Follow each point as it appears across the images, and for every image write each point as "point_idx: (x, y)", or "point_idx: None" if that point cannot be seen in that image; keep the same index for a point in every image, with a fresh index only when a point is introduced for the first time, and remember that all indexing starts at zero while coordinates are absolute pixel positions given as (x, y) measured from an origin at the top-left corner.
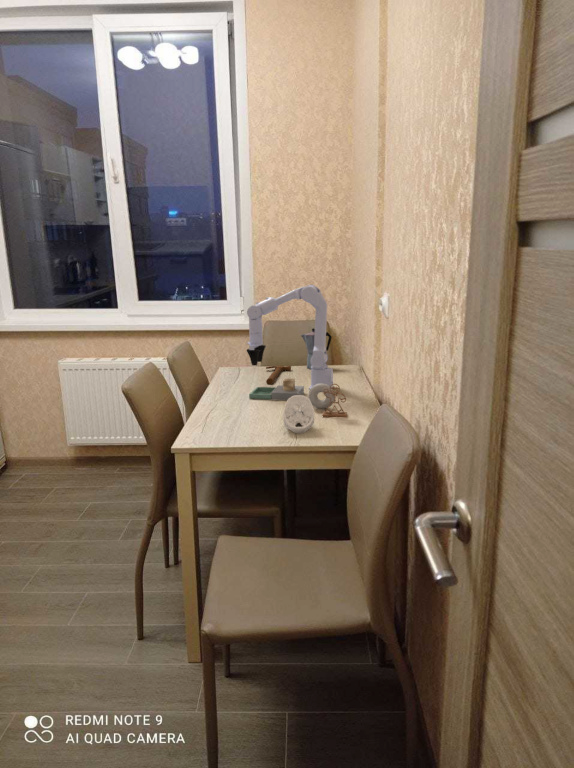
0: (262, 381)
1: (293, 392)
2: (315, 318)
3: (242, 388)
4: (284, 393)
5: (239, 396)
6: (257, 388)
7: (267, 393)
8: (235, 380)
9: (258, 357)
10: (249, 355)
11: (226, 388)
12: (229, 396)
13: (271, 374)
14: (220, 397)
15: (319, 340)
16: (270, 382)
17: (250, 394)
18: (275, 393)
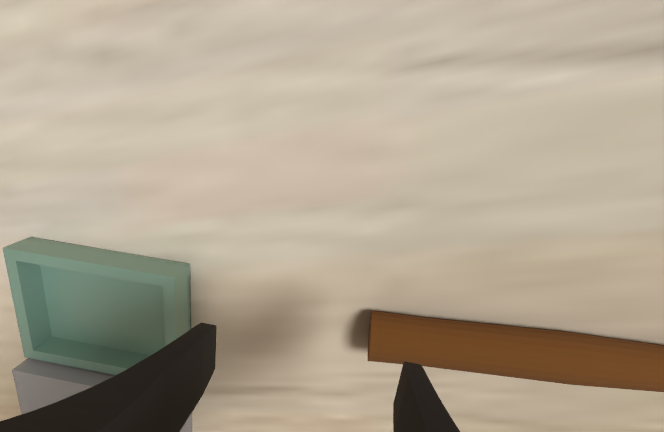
0: (458, 275)
1: None
2: None
3: (252, 161)
4: None
5: (61, 173)
6: (143, 281)
7: (133, 324)
8: (522, 53)
9: (407, 425)
10: (70, 400)
11: (241, 33)
12: (43, 107)
13: (522, 356)
14: (4, 47)
15: None
16: (369, 336)
17: (6, 254)
18: (20, 384)
